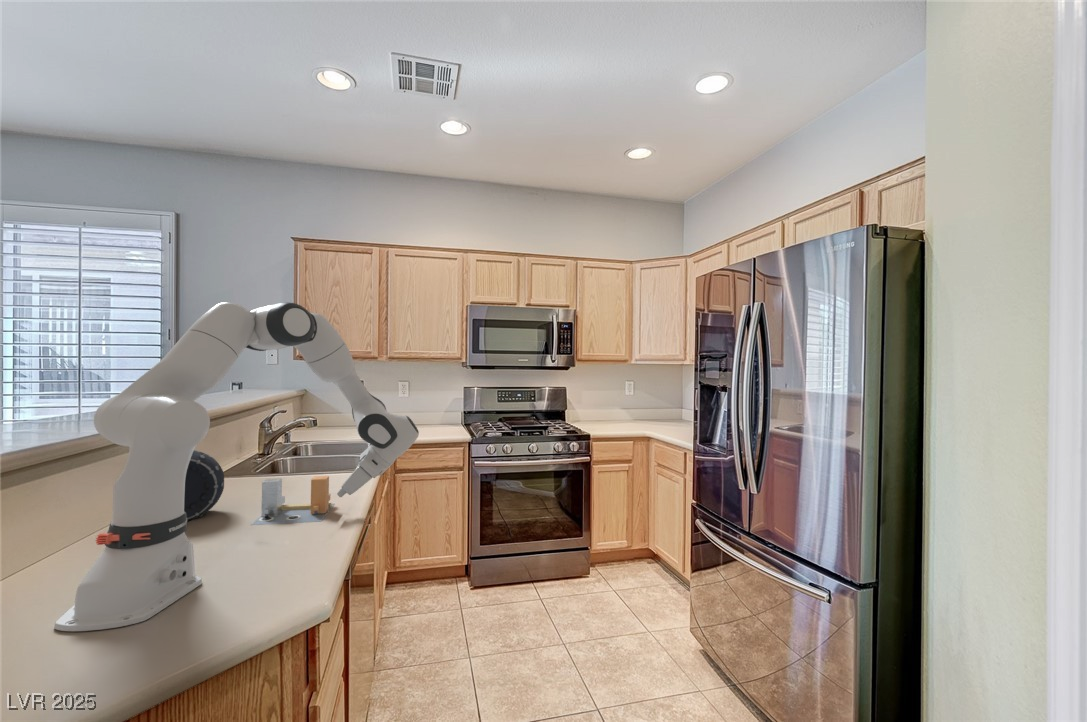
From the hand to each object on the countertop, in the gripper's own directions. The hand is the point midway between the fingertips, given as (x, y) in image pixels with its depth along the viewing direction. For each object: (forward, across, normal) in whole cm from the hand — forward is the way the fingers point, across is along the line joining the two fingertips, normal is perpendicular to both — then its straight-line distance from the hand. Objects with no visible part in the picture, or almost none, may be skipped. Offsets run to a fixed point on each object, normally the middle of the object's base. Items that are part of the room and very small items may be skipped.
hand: (339, 494), depth 142 cm
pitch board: (+13, 0, -4) cm, 14 cm away
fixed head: (+17, -1, -9) cm, 19 cm away
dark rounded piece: (+35, -2, -25) cm, 43 cm away
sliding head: (+7, -1, -1) cm, 7 cm away
